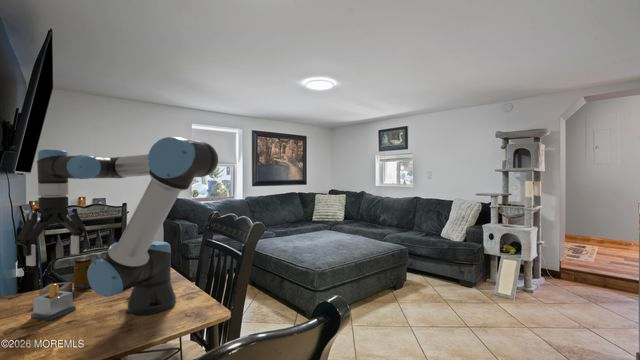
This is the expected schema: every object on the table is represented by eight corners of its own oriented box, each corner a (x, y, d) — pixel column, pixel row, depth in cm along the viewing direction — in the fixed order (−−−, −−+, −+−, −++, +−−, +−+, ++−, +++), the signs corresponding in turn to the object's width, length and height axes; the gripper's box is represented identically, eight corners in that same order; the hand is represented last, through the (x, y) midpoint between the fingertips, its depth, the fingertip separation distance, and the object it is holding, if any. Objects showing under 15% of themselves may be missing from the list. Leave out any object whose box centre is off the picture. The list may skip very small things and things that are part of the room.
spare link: (72, 294, 115) (72, 281, 115) (63, 302, 108) (63, 288, 108) (50, 296, 113) (50, 283, 113) (39, 304, 106) (39, 290, 106)
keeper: (75, 309, 103) (75, 280, 102) (50, 320, 95) (50, 289, 95) (57, 307, 104) (57, 278, 104) (30, 318, 97) (30, 287, 96)
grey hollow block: (72, 306, 102) (72, 292, 102) (50, 316, 96) (50, 300, 95) (56, 304, 104) (56, 290, 104) (33, 313, 97) (33, 298, 97)
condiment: (79, 285, 124) (79, 257, 124) (101, 284, 126) (101, 256, 125) (67, 292, 117) (67, 262, 117) (91, 291, 118) (91, 261, 118)
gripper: (81, 193, 112) (82, 249, 112) (-3, 199, 87) (-2, 270, 88) (97, 193, 110) (98, 250, 111) (17, 199, 86) (18, 272, 86)
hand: (54, 259), depth 99 cm, fingers open, 13 cm apart
